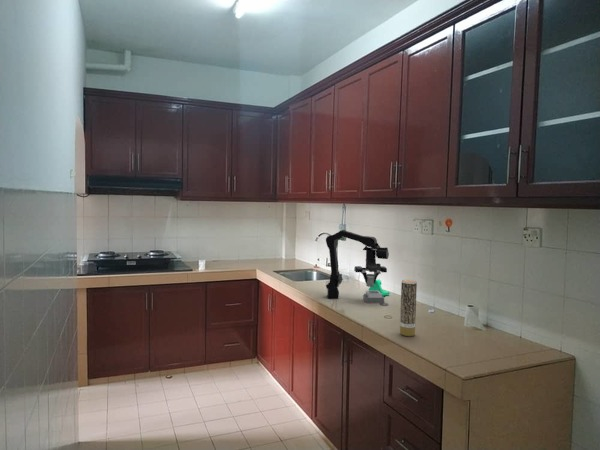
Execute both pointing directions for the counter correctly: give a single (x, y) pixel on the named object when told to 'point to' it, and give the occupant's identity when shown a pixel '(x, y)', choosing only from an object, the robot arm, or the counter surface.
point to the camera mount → (378, 288)
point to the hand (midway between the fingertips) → (370, 283)
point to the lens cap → (383, 304)
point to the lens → (370, 280)
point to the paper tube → (408, 307)
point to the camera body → (373, 297)
